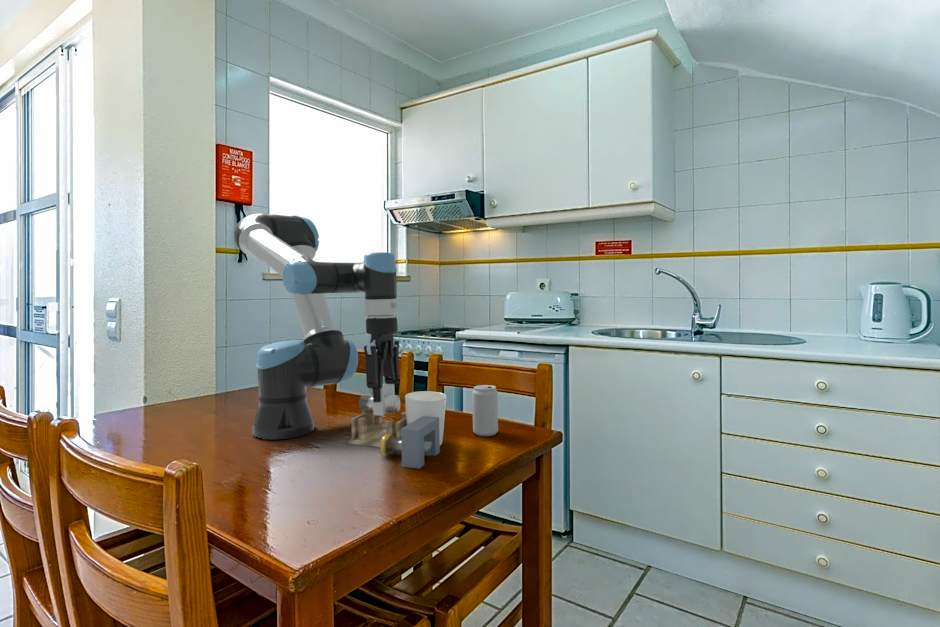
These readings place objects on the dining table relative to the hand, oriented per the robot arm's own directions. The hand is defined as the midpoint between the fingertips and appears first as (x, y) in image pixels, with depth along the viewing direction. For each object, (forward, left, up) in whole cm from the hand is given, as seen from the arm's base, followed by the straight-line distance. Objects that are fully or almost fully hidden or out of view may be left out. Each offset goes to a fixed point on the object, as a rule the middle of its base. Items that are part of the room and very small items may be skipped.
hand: (384, 412), depth 127 cm
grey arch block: (+14, -10, -7) cm, 19 cm away
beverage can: (+22, +13, -7) cm, 26 cm away
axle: (-1, 0, +2) cm, 2 cm away
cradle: (0, 0, -7) cm, 7 cm away
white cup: (+10, +1, -8) cm, 13 cm away
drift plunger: (+11, -10, -7) cm, 16 cm away
